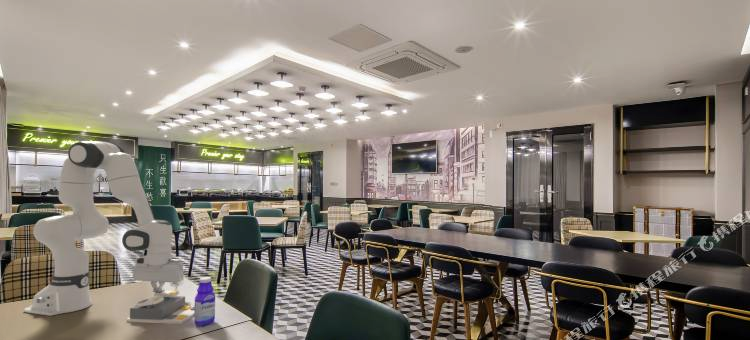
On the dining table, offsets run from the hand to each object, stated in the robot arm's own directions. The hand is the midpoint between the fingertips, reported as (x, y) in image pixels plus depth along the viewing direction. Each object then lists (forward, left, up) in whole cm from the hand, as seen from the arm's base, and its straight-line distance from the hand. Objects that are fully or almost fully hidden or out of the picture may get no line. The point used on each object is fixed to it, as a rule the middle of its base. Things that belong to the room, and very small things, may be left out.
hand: (157, 291), depth 151 cm
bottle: (+27, -11, -8) cm, 30 cm away
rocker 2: (+4, 0, -1) cm, 4 cm away
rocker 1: (+4, -10, -1) cm, 11 cm away
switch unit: (+8, -5, -7) cm, 12 cm away
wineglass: (+1, +13, -8) cm, 15 cm away
